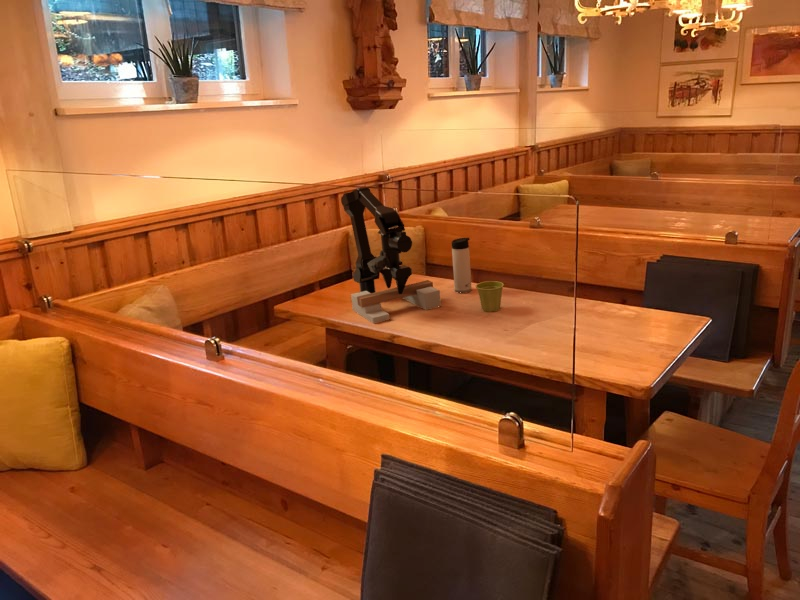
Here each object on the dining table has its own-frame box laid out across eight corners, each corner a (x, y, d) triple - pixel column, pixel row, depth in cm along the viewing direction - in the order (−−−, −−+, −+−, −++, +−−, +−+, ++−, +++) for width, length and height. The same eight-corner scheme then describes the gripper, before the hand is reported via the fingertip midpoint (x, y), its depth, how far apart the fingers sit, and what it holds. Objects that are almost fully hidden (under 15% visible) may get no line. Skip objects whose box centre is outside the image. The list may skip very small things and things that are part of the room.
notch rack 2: (402, 298, 250) (401, 282, 248) (416, 294, 252) (415, 279, 250) (425, 310, 234) (424, 293, 232) (440, 306, 237) (439, 290, 235)
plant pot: (471, 311, 229) (469, 286, 226) (487, 303, 236) (486, 279, 233) (494, 315, 223) (492, 290, 220) (510, 307, 229) (509, 283, 227)
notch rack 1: (352, 310, 242) (350, 294, 240) (368, 306, 244) (366, 290, 242) (373, 323, 226) (371, 306, 224) (389, 319, 229) (387, 302, 227)
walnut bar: (357, 304, 234) (356, 296, 233) (428, 288, 245) (427, 280, 244) (361, 307, 231) (360, 298, 230) (433, 290, 242) (432, 282, 241)
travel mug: (471, 293, 248) (468, 240, 242) (453, 293, 249) (450, 240, 243) (473, 288, 254) (470, 236, 248) (455, 288, 255) (452, 236, 249)
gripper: (358, 247, 237) (363, 289, 242) (380, 257, 221) (385, 302, 226) (386, 241, 242) (390, 283, 247) (410, 250, 226) (414, 295, 230)
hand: (394, 290), depth 237 cm, fingers open, 9 cm apart
